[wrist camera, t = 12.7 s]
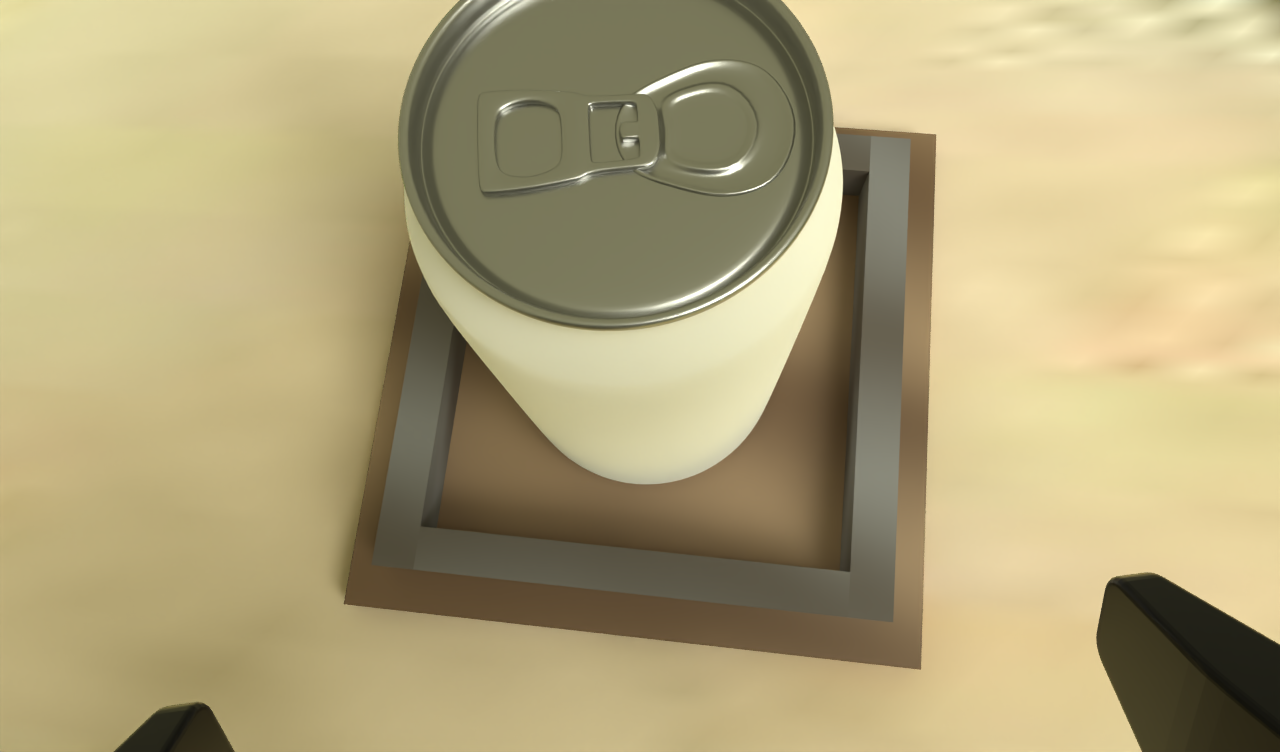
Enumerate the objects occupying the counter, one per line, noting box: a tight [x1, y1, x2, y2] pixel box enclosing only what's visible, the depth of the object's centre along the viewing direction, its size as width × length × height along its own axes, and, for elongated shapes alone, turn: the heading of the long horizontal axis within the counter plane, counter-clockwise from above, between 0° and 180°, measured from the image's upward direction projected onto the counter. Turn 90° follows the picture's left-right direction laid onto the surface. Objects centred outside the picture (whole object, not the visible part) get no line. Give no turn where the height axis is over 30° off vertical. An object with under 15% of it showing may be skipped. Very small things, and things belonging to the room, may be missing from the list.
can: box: [398, 0, 843, 484], centre depth 17 cm, size 6×6×12 cm
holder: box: [344, 127, 936, 669], centre depth 23 cm, size 14×14×2 cm
